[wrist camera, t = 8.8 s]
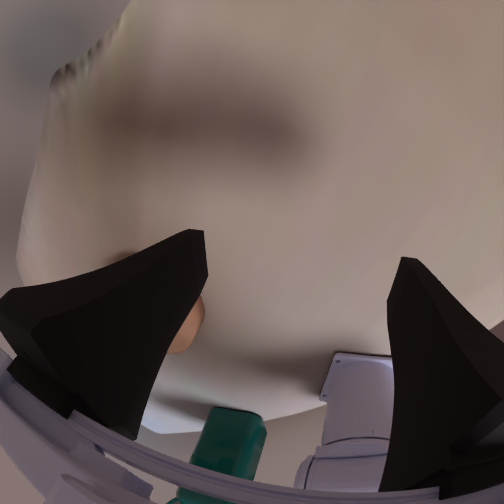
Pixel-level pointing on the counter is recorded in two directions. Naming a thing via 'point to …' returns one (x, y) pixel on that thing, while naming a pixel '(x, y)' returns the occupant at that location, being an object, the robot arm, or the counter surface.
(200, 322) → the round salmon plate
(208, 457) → the green plastic tall container
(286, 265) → the counter surface
